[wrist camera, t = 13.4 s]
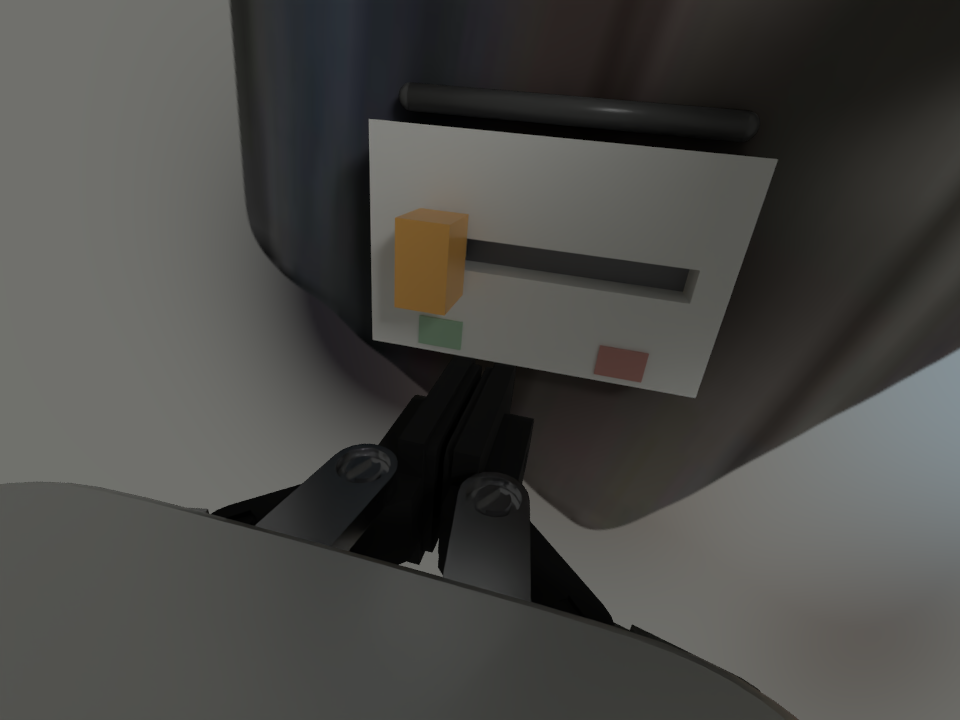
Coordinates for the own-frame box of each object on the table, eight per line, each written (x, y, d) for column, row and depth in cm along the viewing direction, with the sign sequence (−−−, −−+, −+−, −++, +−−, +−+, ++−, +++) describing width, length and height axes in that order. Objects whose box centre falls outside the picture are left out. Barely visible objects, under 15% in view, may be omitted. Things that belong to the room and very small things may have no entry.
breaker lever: (477, 209, 29) (449, 224, 24) (471, 284, 32) (444, 315, 26) (432, 203, 30) (395, 217, 24) (429, 278, 32) (394, 307, 26)
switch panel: (762, 113, 26) (798, 106, 22) (682, 364, 34) (696, 399, 29) (401, 82, 30) (366, 71, 25) (399, 316, 37) (371, 340, 33)
